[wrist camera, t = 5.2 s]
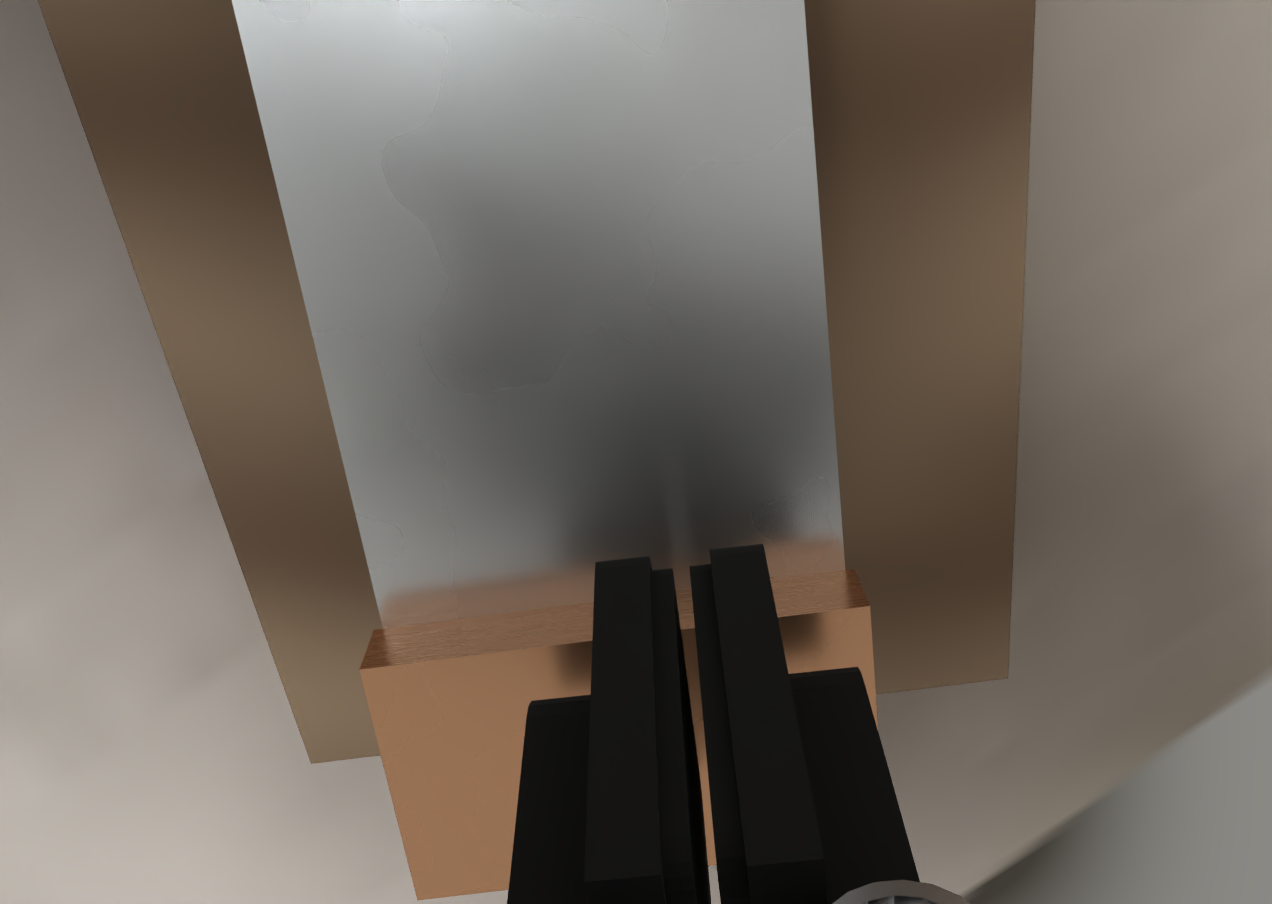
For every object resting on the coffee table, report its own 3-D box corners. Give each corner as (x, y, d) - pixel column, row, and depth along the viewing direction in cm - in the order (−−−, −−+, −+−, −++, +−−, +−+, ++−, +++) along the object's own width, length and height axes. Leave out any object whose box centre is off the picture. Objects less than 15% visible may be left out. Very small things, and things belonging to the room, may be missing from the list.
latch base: (-254, -1082, 11) (-931, -1775, 6) (1013, -1295, 11) (1383, -2209, 6) (332, 686, 22) (259, 954, 17) (974, 606, 22) (1092, 855, 17)
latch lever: (9, -1065, 9) (-150, -1344, 7) (707, -1182, 9) (735, -1502, 7) (443, 799, 15) (421, 914, 13) (851, 749, 15) (886, 858, 13)
